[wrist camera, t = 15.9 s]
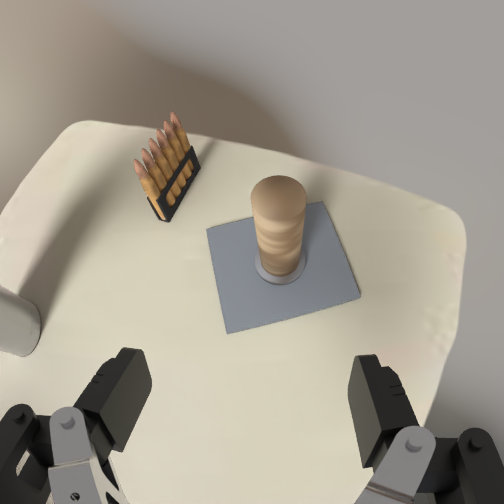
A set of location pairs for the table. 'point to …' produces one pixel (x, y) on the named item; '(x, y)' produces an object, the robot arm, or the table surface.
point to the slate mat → (279, 296)
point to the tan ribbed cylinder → (279, 229)
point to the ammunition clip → (168, 169)
